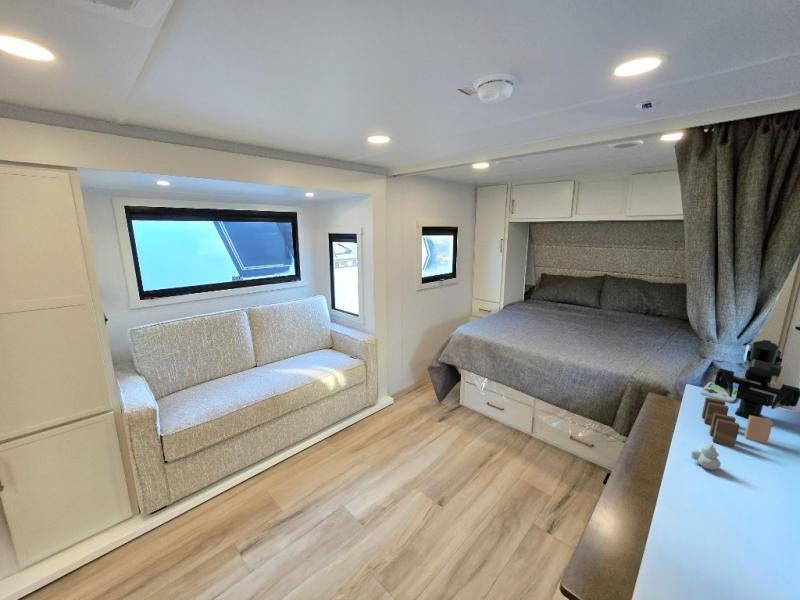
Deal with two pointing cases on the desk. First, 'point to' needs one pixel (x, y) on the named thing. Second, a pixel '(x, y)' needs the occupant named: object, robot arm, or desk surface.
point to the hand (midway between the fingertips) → (750, 401)
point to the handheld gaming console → (718, 393)
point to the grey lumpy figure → (707, 457)
